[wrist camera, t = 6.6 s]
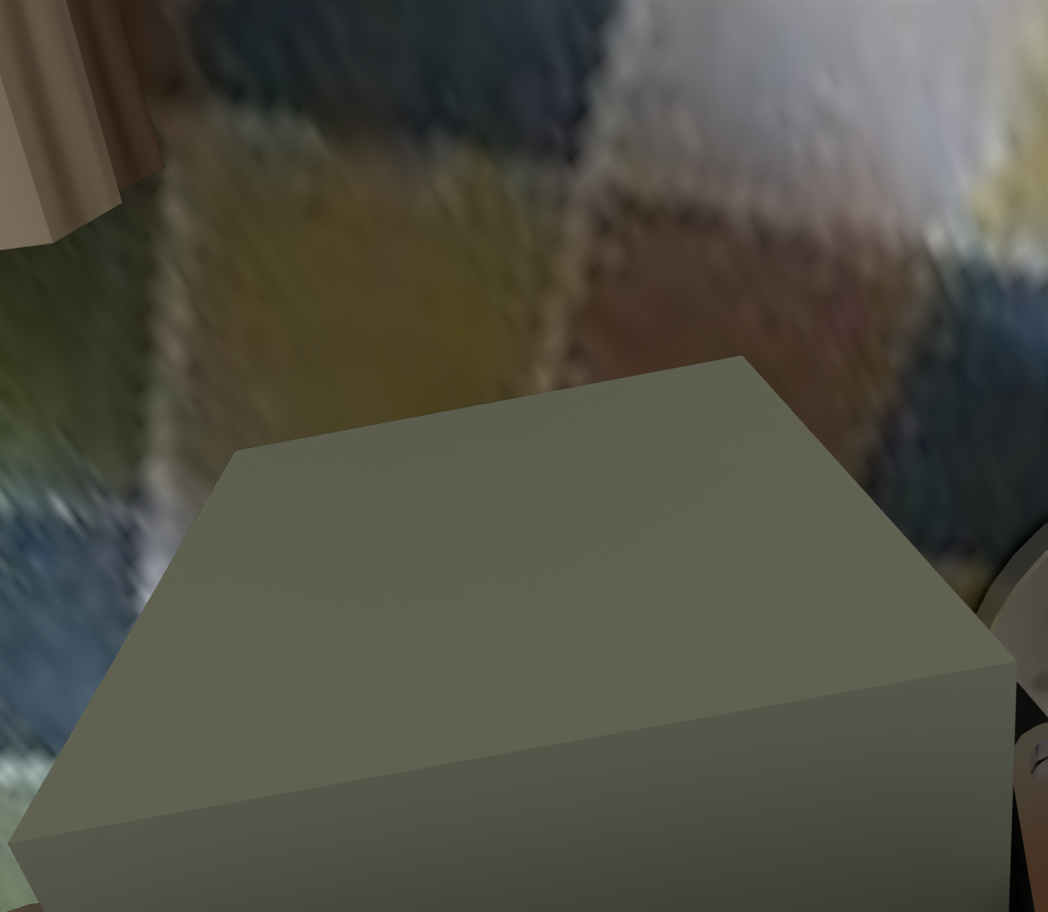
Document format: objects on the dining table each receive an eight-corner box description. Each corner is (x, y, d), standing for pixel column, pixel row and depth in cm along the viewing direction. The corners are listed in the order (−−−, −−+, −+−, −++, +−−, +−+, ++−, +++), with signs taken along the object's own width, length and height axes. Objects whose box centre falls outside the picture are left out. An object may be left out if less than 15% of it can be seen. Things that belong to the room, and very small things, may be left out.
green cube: (741, 355, 11) (1017, 660, 6) (778, 758, 13) (997, 1255, 8) (235, 450, 11) (8, 843, 6) (360, 833, 14) (286, 1373, 8)
